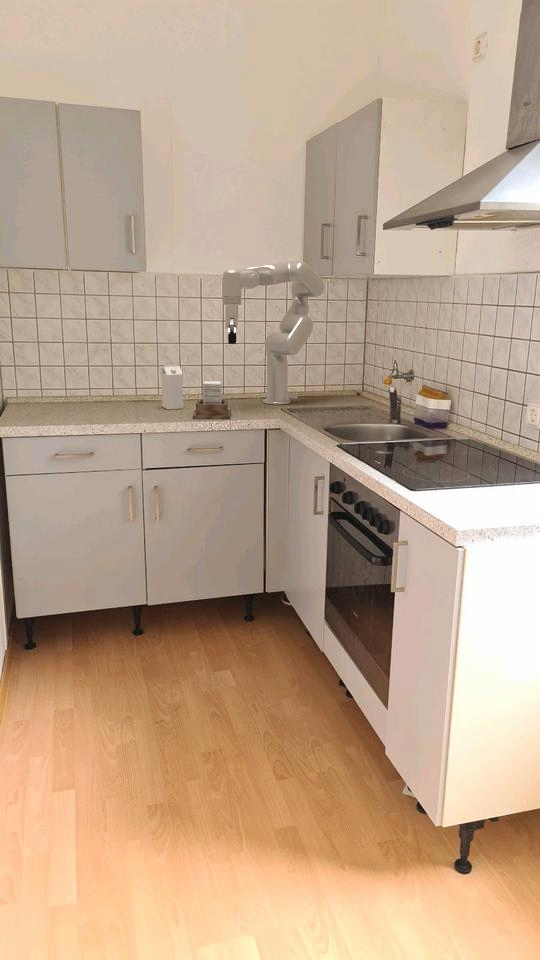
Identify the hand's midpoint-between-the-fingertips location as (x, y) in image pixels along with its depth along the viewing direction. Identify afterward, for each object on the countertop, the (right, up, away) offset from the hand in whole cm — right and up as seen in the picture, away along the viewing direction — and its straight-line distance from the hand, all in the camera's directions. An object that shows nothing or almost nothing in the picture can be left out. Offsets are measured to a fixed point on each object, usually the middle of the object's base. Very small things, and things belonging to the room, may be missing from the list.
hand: (232, 342), depth 297 cm
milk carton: (-26, -27, +9) cm, 39 cm away
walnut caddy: (-8, -32, -8) cm, 33 cm away
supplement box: (-8, -31, -8) cm, 33 cm away
